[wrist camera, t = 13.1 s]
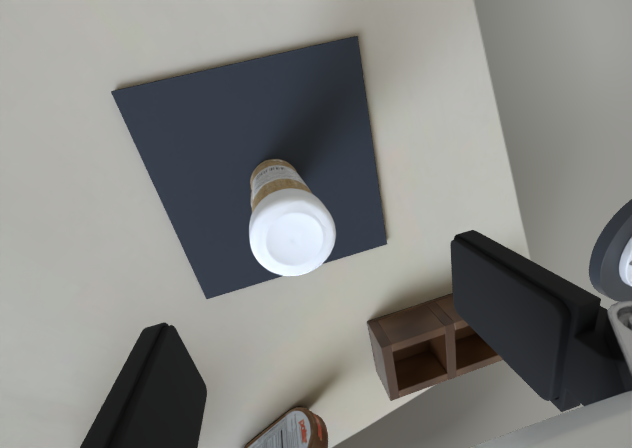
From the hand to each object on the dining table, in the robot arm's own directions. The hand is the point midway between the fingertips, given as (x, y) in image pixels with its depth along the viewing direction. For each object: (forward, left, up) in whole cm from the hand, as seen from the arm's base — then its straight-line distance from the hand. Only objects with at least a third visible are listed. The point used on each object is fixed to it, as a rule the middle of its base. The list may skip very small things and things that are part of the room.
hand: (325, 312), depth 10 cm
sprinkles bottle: (0, 0, -20) cm, 20 cm away
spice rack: (-14, +24, -20) cm, 34 cm away
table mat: (0, 0, -20) cm, 20 cm away
